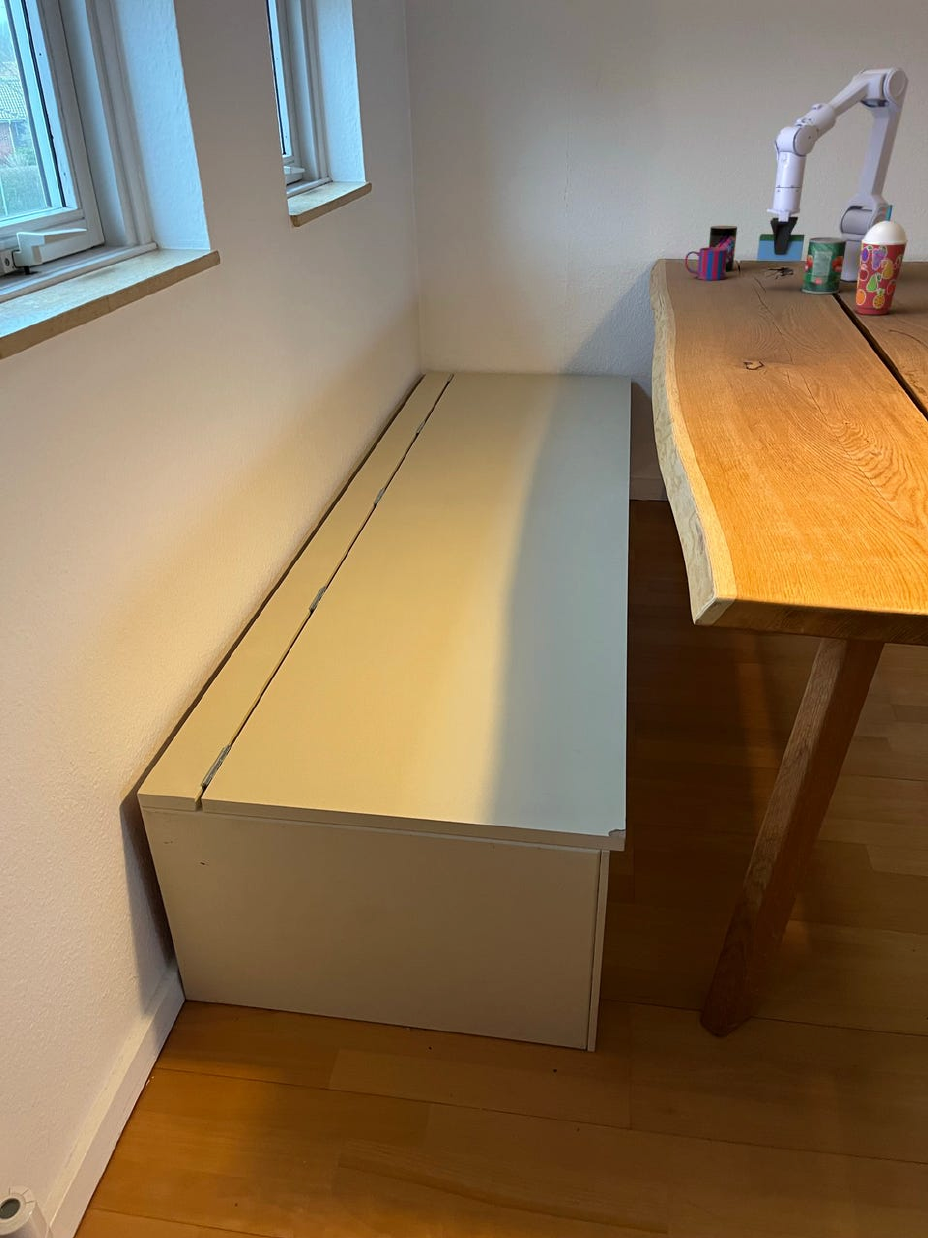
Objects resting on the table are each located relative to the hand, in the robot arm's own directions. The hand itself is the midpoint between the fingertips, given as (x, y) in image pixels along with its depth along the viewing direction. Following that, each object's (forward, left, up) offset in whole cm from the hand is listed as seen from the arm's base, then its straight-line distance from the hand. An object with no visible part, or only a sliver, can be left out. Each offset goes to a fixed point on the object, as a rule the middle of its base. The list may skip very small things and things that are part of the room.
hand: (780, 252), depth 211 cm
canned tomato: (-8, +5, -8) cm, 13 cm away
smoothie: (-5, +31, -8) cm, 33 cm away
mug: (+9, -21, -8) cm, 24 cm away
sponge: (0, 0, -1) cm, 1 cm away
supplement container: (0, -32, -8) cm, 33 cm away
